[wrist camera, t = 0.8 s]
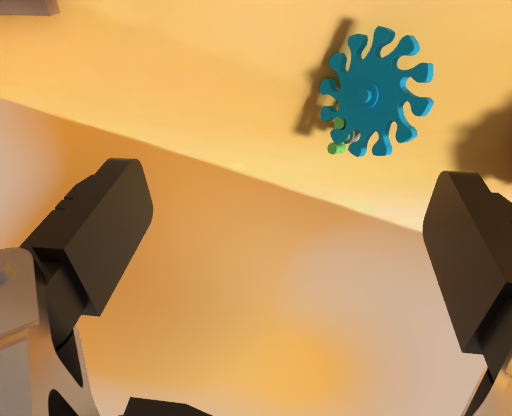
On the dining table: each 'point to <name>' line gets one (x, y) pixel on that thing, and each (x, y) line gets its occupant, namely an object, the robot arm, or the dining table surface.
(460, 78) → the dining table surface
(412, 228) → the dining table surface
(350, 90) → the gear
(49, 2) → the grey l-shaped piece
